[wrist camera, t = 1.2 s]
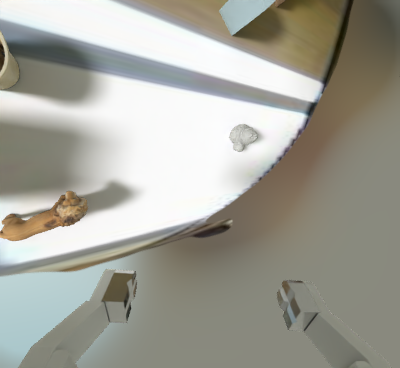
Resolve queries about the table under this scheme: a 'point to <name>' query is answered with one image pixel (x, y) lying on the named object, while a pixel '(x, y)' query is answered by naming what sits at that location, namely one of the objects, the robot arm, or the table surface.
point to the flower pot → (7, 66)
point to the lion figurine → (46, 218)
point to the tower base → (278, 2)
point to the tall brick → (242, 12)
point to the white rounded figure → (242, 136)
